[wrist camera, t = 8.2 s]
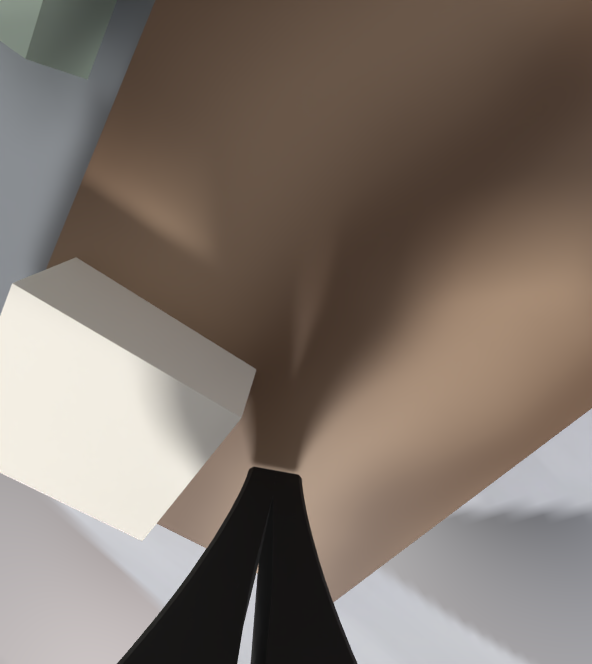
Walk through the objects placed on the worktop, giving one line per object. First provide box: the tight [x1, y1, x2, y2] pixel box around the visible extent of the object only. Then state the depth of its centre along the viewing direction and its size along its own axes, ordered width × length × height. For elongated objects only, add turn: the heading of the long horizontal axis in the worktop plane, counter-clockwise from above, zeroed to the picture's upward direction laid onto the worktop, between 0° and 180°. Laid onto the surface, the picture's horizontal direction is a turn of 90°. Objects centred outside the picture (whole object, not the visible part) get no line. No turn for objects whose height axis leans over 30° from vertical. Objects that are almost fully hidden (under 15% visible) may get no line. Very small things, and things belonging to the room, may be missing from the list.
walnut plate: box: [46, 0, 592, 602], centre depth 10 cm, size 13×17×2 cm
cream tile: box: [0, 257, 256, 541], centre depth 9 cm, size 5×5×2 cm
